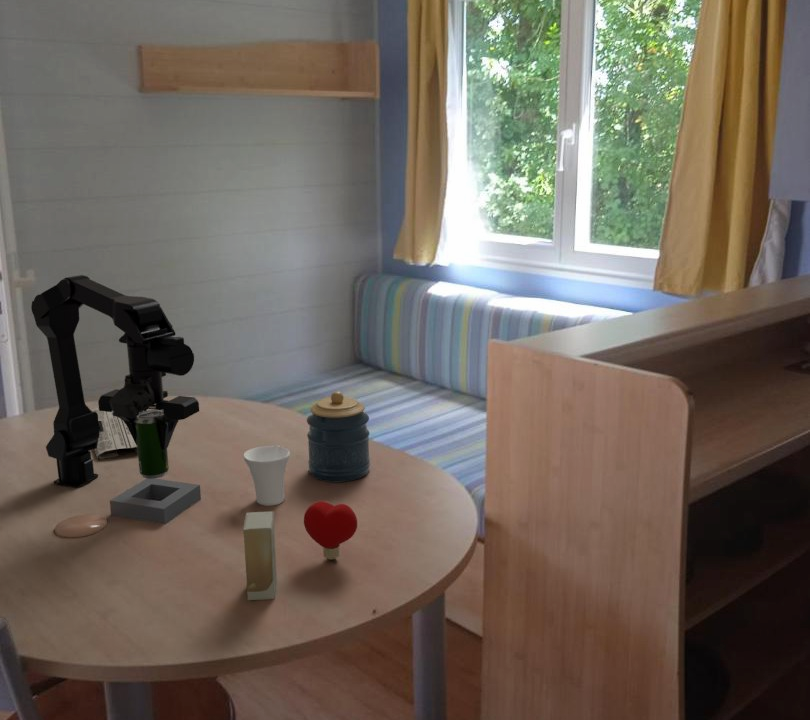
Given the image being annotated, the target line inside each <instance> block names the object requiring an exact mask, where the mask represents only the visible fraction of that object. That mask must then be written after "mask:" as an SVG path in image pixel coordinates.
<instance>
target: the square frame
mask: <svg viewBox="0 0 810 720" xmlns="http://www.w3.org/2000/svg"><path fill="white" fill-rule="evenodd" d="M154 499H155V500H154ZM200 500H202V494H201V484H196V483H190V482H189V483H188V482H182V481H175V480H169V479H168V480H167V479H161V478H155V479H147V478H144V479H143V480H141V481H140V482H139V483H137V484H135V485H133V486H131V487H130V488H128V489H127V490H125V491H123V492H121V493H120V494H118V495H116V496H114V497H113V498H112V499H110V500H109V505H110V515H111V516H114V517H121V518H125V519H132V520H139V521H145V522H151V523H158V524H164V525H166V524H167V523H169V522H170V521H172V520H174V519H175V518H176V517H178V516H179V515H181V514H182V513H183V512H184V511H187V509H189V508H190V507H192V506H194V504H196V503H197V502H198V501H200Z"/></svg>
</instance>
